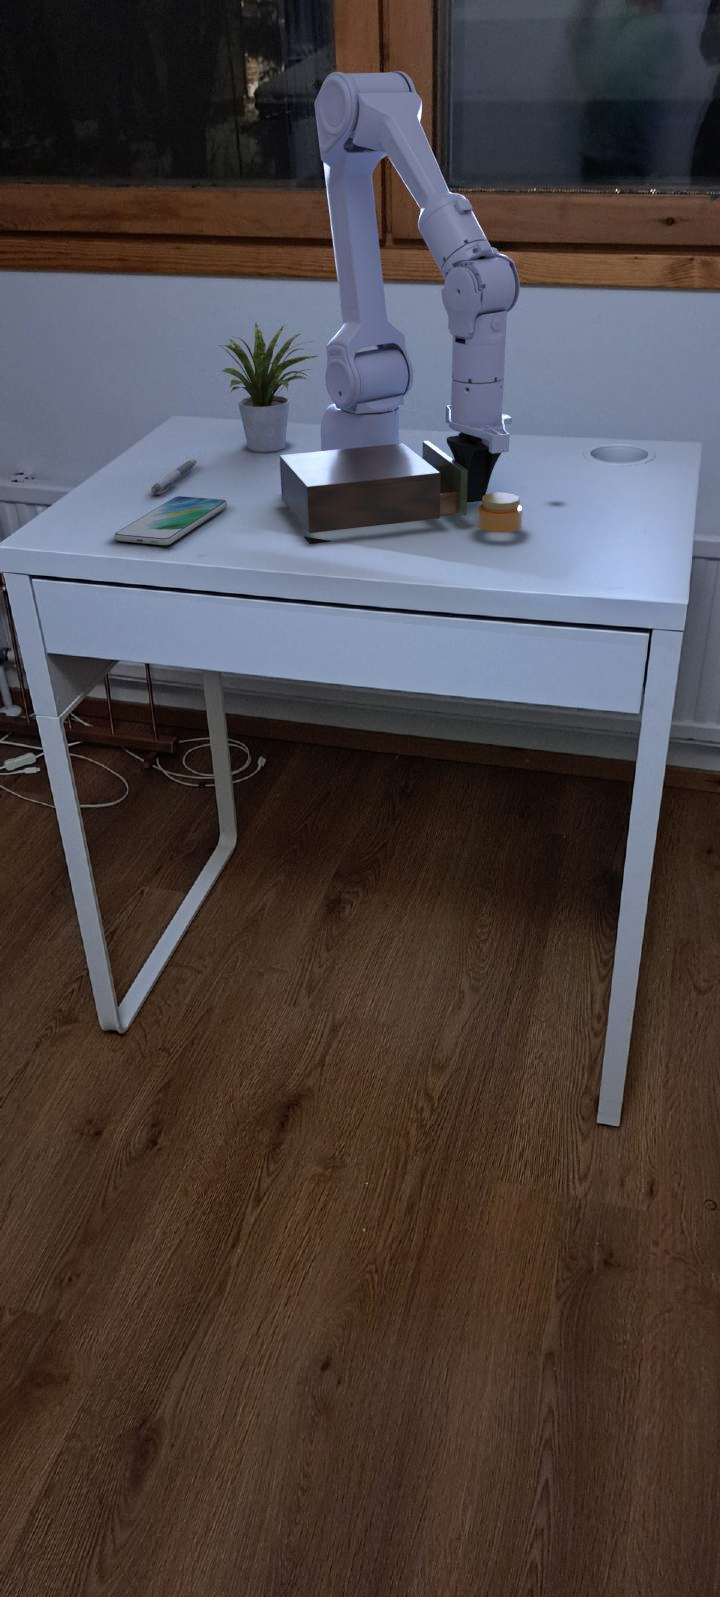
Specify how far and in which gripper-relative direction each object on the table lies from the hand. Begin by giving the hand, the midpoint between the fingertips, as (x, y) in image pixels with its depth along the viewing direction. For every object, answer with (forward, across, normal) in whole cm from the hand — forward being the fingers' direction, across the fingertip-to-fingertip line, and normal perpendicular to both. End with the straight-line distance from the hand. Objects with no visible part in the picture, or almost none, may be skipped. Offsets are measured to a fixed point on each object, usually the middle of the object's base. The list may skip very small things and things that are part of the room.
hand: (473, 500), depth 134 cm
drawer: (+1, +3, +9) cm, 10 cm away
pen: (+2, +25, +31) cm, 40 cm away
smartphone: (+2, +8, +34) cm, 35 cm away
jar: (+2, -8, 0) cm, 8 cm away
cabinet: (+2, +3, +13) cm, 13 cm away
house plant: (+2, +36, +17) cm, 40 cm away
